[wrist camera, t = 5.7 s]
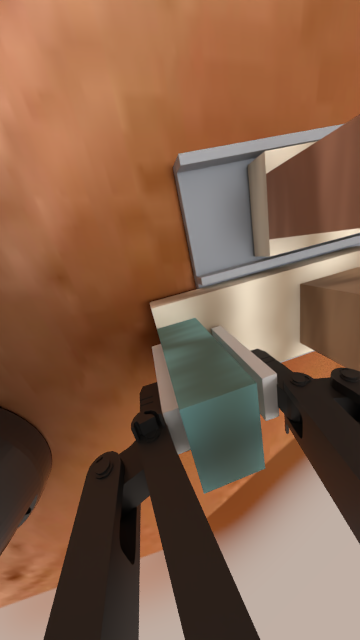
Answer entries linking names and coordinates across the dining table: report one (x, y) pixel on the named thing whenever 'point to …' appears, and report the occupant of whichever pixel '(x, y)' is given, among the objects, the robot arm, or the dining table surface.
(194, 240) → the lane board
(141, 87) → the dining table surface
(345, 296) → the walnut cube
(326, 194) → the strip
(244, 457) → the strip
